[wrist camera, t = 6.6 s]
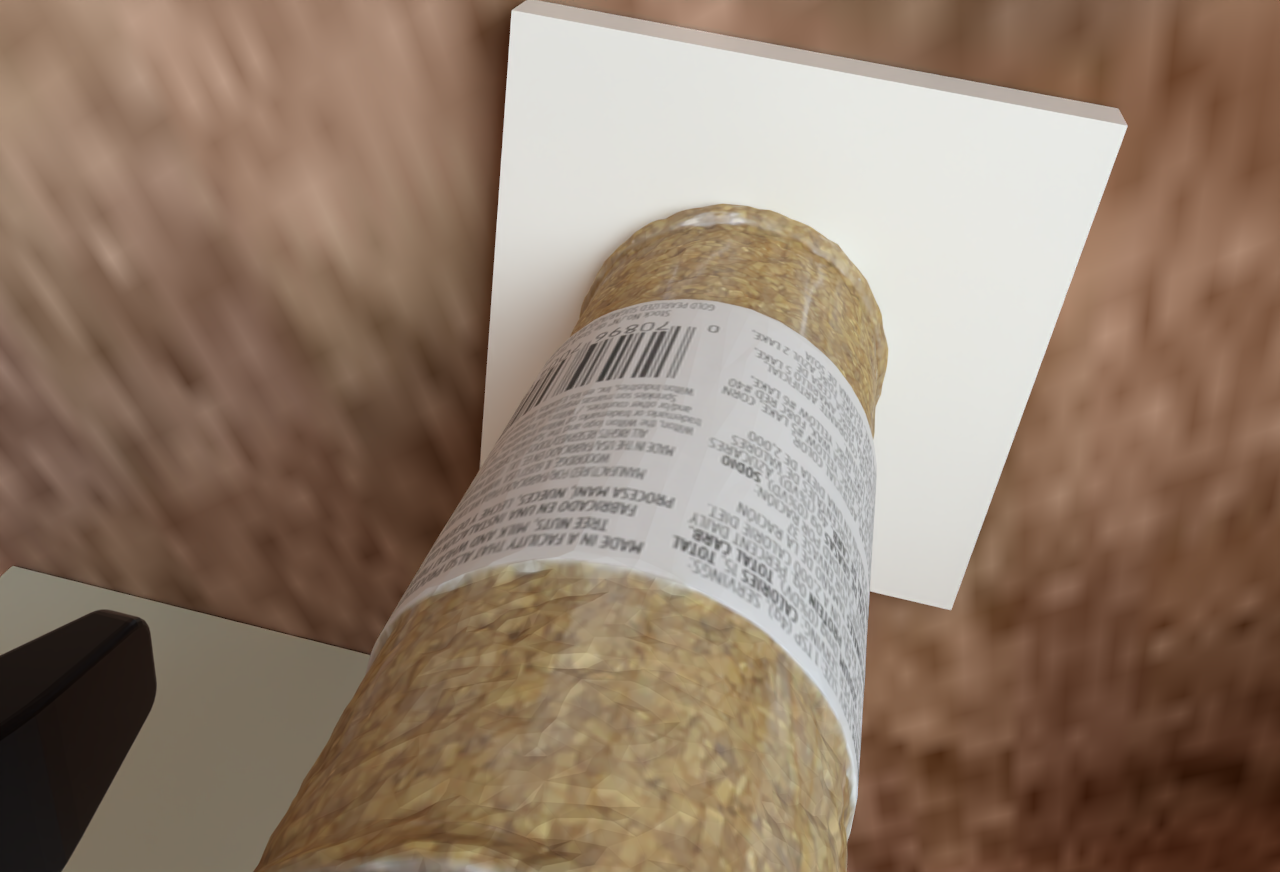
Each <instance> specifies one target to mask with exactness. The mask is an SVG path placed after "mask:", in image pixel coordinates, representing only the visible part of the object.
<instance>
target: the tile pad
mask: <svg viewBox="0 0 1280 872" xmlns="http://www.w3.org/2000/svg"><path fill="white" fill-rule="evenodd" d="M1127 126H1128V125H1127V124H1126V122H1125V120H1124V118H1123V116H1122V114H1121V113H1120V111H1119V109H1118V108H1113V107H1107V106H1102V105H1097V104H1091V103H1086V102H1080V101H1075V100H1070V99H1064V98H1059V97H1054V96H1048V95H1043V94H1038V93H1032V92H1027V91H1021V90H1016V89H1011V88H1005V87H1000V86H995V85H989V84H984V83H978V82H973V81H968V80H962V79H957V78H952V77H946V76H941V75H935V74H930V73H925V72H919V71H914V70H909V69H903V68H898V67H893V66H887V65H882V64H876V63H871V62H866V61H860V60H855V59H850V58H844V57H839V56H833V55H828V54H823V53H817V52H812V51H807V50H801V49H796V48H791V47H785V46H780V45H774V44H769V43H764V42H758V41H753V40H748V39H742V38H737V37H731V36H726V35H721V34H715V33H710V32H705V31H699V30H694V29H688V28H683V27H678V26H672V25H667V24H662V23H656V22H651V21H646V20H640V19H635V18H629V17H624V16H619V15H613V14H608V13H603V12H597V11H592V10H586V9H581V8H576V7H570V6H565V5H560V4H554V3H549V2H543V1H538V0H526V1H525V2H523V3H522V4H520V5H519V6H517V7H516V8H514V9H513V10H512V12H511V26H510V41H509V55H508V69H507V84H506V98H505V112H504V127H503V141H502V155H501V170H500V184H499V198H498V213H497V227H496V241H495V256H494V270H493V284H492V299H491V313H490V327H489V342H488V356H487V371H486V385H485V399H484V414H483V428H482V442H481V457H480V468H481V467H482V465H483V464H484V462H485V460H486V459H487V457H488V455H489V454H490V452H491V451H492V449H493V447H494V446H495V444H496V442H497V441H498V439H499V438H500V436H501V434H502V433H503V431H504V429H505V428H506V426H507V425H508V423H509V421H510V420H511V418H512V416H513V415H514V413H515V412H516V410H517V408H518V407H519V405H520V403H521V401H522V400H523V398H524V396H525V395H526V393H527V392H528V390H529V389H530V387H531V385H532V384H533V382H534V381H535V379H536V378H537V376H538V374H539V373H540V371H541V370H542V368H543V367H544V365H545V364H546V362H547V361H548V359H549V358H550V357H551V356H552V355H553V354H554V353H555V352H556V351H557V349H558V348H559V347H560V346H561V345H562V344H563V343H565V342H566V341H567V340H568V339H569V338H570V335H571V333H572V331H573V329H574V327H575V325H576V324H577V322H578V320H579V316H580V311H581V306H582V303H583V301H584V298H585V296H586V295H587V294H588V292H589V290H590V288H591V285H592V284H593V282H594V280H595V278H596V275H597V273H598V272H599V270H600V268H601V267H602V265H603V263H604V262H605V261H606V260H607V259H608V258H609V257H610V256H611V255H612V254H613V252H614V251H615V250H616V249H617V248H618V247H619V246H620V245H622V244H623V243H624V242H625V241H627V240H628V239H629V238H630V237H631V236H632V235H633V234H634V233H635V232H636V231H638V230H640V229H641V228H643V227H644V226H646V225H648V224H649V223H651V222H654V221H656V220H661V219H666V218H668V217H670V216H672V215H673V214H675V213H678V212H680V211H683V210H688V209H693V208H701V207H706V206H710V205H717V204H731V205H743V206H750V207H753V208H757V209H762V210H771V211H774V212H777V213H780V214H782V215H784V216H786V217H788V218H790V219H793V220H796V221H799V222H801V223H803V224H806V225H808V226H810V227H812V228H813V229H815V230H816V231H818V232H819V233H821V234H822V235H823V236H825V237H826V238H827V239H829V240H831V241H833V242H835V243H837V244H838V245H839V246H840V248H841V249H842V250H843V252H844V253H845V254H846V255H847V257H848V258H849V259H850V260H851V261H852V262H853V264H854V265H855V266H856V267H857V268H858V269H859V271H860V272H861V273H862V275H863V276H864V277H865V278H866V280H867V282H868V284H869V286H870V289H871V291H872V293H873V295H874V298H875V300H876V302H877V304H878V306H879V309H880V311H881V314H882V321H883V329H884V333H885V337H886V340H887V345H888V362H887V368H886V373H885V377H884V381H883V385H882V391H881V396H880V398H879V400H878V402H877V405H876V409H875V433H874V439H873V442H874V448H875V455H876V464H877V478H876V497H875V513H874V528H873V546H872V563H871V580H870V591H871V592H875V593H879V594H883V595H888V596H892V597H896V598H901V599H905V600H909V601H913V602H918V603H922V604H926V605H931V606H935V607H939V608H944V609H948V610H951V609H952V606H953V604H954V601H955V598H956V595H957V593H958V590H959V587H960V584H961V582H962V579H963V576H964V573H965V571H966V568H967V565H968V563H969V560H970V557H971V554H972V552H973V549H974V546H975V543H976V541H977V538H978V535H979V532H980V530H981V527H982V524H983V521H984V519H985V516H986V513H987V510H988V508H989V505H990V502H991V499H992V497H993V494H994V491H995V488H996V486H997V483H998V480H999V477H1000V475H1001V472H1002V469H1003V466H1004V464H1005V461H1006V458H1007V455H1008V453H1009V450H1010V447H1011V444H1012V442H1013V439H1014V436H1015V434H1016V431H1017V428H1018V425H1019V423H1020V420H1021V417H1022V414H1023V412H1024V409H1025V406H1026V403H1027V401H1028V398H1029V395H1030V392H1031V390H1032V387H1033V384H1034V381H1035V379H1036V376H1037V373H1038V370H1039V368H1040V365H1041V362H1042V359H1043V357H1044V354H1045V351H1046V348H1047V346H1048V343H1049V340H1050V337H1051V335H1052V332H1053V329H1054V326H1055V324H1056V321H1057V318H1058V316H1059V313H1060V310H1061V307H1062V305H1063V302H1064V299H1065V296H1066V294H1067V291H1068V288H1069V285H1070V283H1071V280H1072V277H1073V274H1074V272H1075V269H1076V266H1077V263H1078V261H1079V258H1080V255H1081V252H1082V250H1083V247H1084V244H1085V241H1086V239H1087V236H1088V233H1089V230H1090V228H1091V225H1092V222H1093V219H1094V217H1095V214H1096V211H1097V208H1098V206H1099V203H1100V200H1101V198H1102V195H1103V192H1104V189H1105V187H1106V184H1107V181H1108V178H1109V176H1110V173H1111V170H1112V167H1113V165H1114V162H1115V159H1116V156H1117V154H1118V151H1119V148H1120V145H1121V143H1122V140H1123V137H1124V134H1125V132H1126V129H1127Z"/></svg>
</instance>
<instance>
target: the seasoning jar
mask: <svg viewBox="0 0 1280 872" xmlns="http://www.w3.org/2000/svg"><path fill="white" fill-rule="evenodd" d="M887 362H888V345H887V340H886V337H885V333H884V329H883V321H882V314H881V311H880V309H879V306H878V304H877V302H876V300H875V298H874V295H873V293H872V291H871V289H870V286H869V284H868V282H867V280H866V278H865V277H864V276H863V275H862V273H861V272H860V271H859V269H858V268H857V267H856V266H855V265H854V264H853V262H852V261H851V260H850V259H849V258H848V257H847V255H846V254H845V253H844V252H843V250H842V249H841V248H840V246H839V245H838V244H837V243H835V242H833V241H831V240H829V239H827V238H826V237H825V236H823V235H822V234H821V233H819V232H818V231H816V230H815V229H813V228H812V227H810V226H808V225H806V224H803V223H801V222H799V221H796V220H793V219H790V218H788V217H786V216H784V215H782V214H780V213H777V212H774V211H771V210H762V209H757V208H753V207H750V206H743V205H731V204H717V205H710V206H706V207H701V208H693V209H688V210H683V211H680V212H678V213H675V214H673V215H672V216H670V217H668V218H666V219H661V220H656V221H654V222H651V223H649V224H648V225H646V226H644V227H643V228H641V229H640V230H638V231H636V232H635V233H634V234H633V235H632V236H631V237H630V238H629V239H628V240H627V241H625V242H624V243H623V244H622V245H620V246H619V247H618V248H617V249H616V250H615V251H614V252H613V254H612V255H611V256H610V257H609V258H608V259H607V260H606V261H605V262H604V263H603V265H602V267H601V268H600V270H599V272H598V273H597V275H596V278H595V280H594V282H593V284H592V285H591V288H590V290H589V292H588V294H587V295H586V296H585V298H584V301H583V303H582V306H581V311H580V316H579V320H578V322H577V324H576V325H575V327H574V329H573V331H572V333H571V335H570V338H569V339H568V340H567V341H566V342H565V343H563V344H562V345H561V346H560V347H559V348H558V349H557V351H556V352H555V353H554V354H553V355H552V356H551V357H550V358H549V359H548V361H547V362H546V364H545V365H544V367H543V368H542V370H541V371H540V373H539V374H538V376H537V378H536V379H535V381H534V382H533V384H532V385H531V387H530V389H529V390H528V392H527V393H526V395H525V396H524V398H523V400H522V401H521V403H520V405H519V407H518V408H517V410H516V412H515V413H514V415H513V416H512V418H511V420H510V421H509V423H508V425H507V426H506V428H505V429H504V431H503V433H502V434H501V436H500V438H499V439H498V441H497V442H496V444H495V446H494V447H493V449H492V451H491V452H490V454H489V455H488V457H487V459H486V460H485V462H484V464H483V465H482V467H481V468H480V470H479V472H478V473H477V475H476V477H475V478H474V480H473V482H472V483H471V485H470V486H469V488H468V490H467V491H466V493H465V495H464V496H463V498H462V499H461V501H460V503H459V504H458V506H457V507H456V509H455V511H454V512H453V514H452V516H451V517H450V519H449V520H448V522H447V524H446V525H445V527H444V529H443V530H442V532H441V533H440V535H439V537H438V538H437V540H436V541H435V543H434V545H433V546H432V548H431V550H430V551H429V553H428V555H427V556H426V558H425V560H424V561H423V563H422V565H421V566H420V568H419V570H418V571H417V573H416V575H415V576H414V578H413V580H412V581H411V583H410V585H409V586H408V588H407V590H406V591H405V593H404V595H403V596H402V598H401V600H400V601H399V603H398V605H397V606H396V608H395V610H394V611H393V613H392V615H391V616H390V618H389V620H388V622H387V623H386V625H385V627H384V628H383V630H382V632H381V634H380V635H379V637H378V639H377V641H376V643H375V645H374V647H373V649H372V652H371V655H370V658H369V662H368V666H367V670H366V673H365V677H364V679H363V680H362V682H361V684H360V685H359V687H358V689H357V691H356V693H355V695H354V696H353V698H352V700H351V701H350V702H349V704H348V705H347V707H346V708H345V709H344V711H343V713H342V715H341V717H340V719H339V721H338V722H337V724H336V726H335V728H334V730H333V732H332V734H331V737H330V739H329V741H328V742H327V744H326V746H325V747H324V749H323V750H322V752H321V754H320V755H319V757H318V758H317V760H316V762H315V763H314V765H313V766H312V768H311V769H310V771H309V772H308V774H307V775H306V777H305V778H304V780H303V782H302V784H301V787H300V789H299V791H298V793H297V795H296V797H295V798H294V799H293V801H292V803H291V805H290V807H289V809H288V811H287V813H286V814H285V816H284V817H283V819H282V820H281V821H280V823H279V824H278V826H277V827H276V829H275V830H274V832H273V833H272V835H271V836H270V839H269V841H268V843H267V846H266V848H265V850H264V853H263V855H262V857H261V860H260V862H259V864H258V866H257V867H256V868H255V870H254V871H253V872H847V841H848V838H849V835H850V832H851V827H852V822H853V817H854V812H855V807H856V802H857V796H858V780H859V765H860V749H861V731H862V712H863V698H864V684H865V666H866V643H867V627H868V612H869V596H870V580H871V563H872V546H873V528H874V513H875V497H876V478H877V464H876V455H875V448H874V442H873V439H874V433H875V409H876V405H877V402H878V400H879V398H880V396H881V391H882V385H883V381H884V377H885V373H886V368H887Z"/></svg>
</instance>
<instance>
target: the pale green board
mask: <svg viewBox="0 0 1280 872" xmlns="http://www.w3.org/2000/svg"><path fill="white" fill-rule="evenodd" d="M101 609H108V610H113V611H117V612H121V613H124V614H128V615H132V616H136V617H140V618H141V619H144V620H145V621H146V623H147V624H148V626H149V628H150V633H151V640H152V648H153V656H154V664H155V672H156V680H157V691H156V697H155V701H154V704H153V707H152V709H151V711H150V713H149V715H148V717H147V719H146V721H145V723H144V724H143V726H142V728H141V730H140V732H139V734H138V736H137V737H136V739H135V741H134V743H133V745H132V747H131V748H130V750H129V752H128V754H127V756H126V758H125V759H124V761H123V763H122V765H121V767H120V769H119V770H118V772H117V774H116V776H115V778H114V780H113V781H112V783H111V785H110V787H109V789H108V791H107V793H106V794H105V796H104V798H103V800H102V802H101V804H100V805H99V807H98V809H97V811H96V813H95V815H94V816H93V818H92V820H91V822H90V824H89V826H88V827H87V829H86V831H85V833H84V835H83V837H82V838H81V840H80V842H79V844H78V845H77V847H76V849H75V851H74V852H73V854H72V856H71V857H70V859H69V861H68V863H67V864H66V866H65V867H64V869H63V870H62V872H253V871H254V870H255V868H256V867H257V866H258V864H259V862H260V860H261V857H262V855H263V853H264V850H265V848H266V846H267V843H268V841H269V839H270V836H271V835H272V833H273V832H274V830H275V829H276V827H277V826H278V824H279V823H280V821H281V820H282V819H283V817H284V816H285V814H286V813H287V811H288V809H289V807H290V805H291V803H292V801H293V799H294V798H295V797H296V795H297V793H298V791H299V789H300V787H301V784H302V782H303V780H304V778H305V777H306V775H307V774H308V772H309V771H310V769H311V768H312V766H313V765H314V763H315V762H316V760H317V758H318V757H319V755H320V754H321V752H322V750H323V749H324V747H325V746H326V744H327V742H328V741H329V739H330V737H331V734H332V732H333V730H334V728H335V726H336V724H337V722H338V721H339V719H340V717H341V715H342V713H343V711H344V709H345V708H346V707H347V705H348V704H349V702H350V701H351V700H352V698H353V696H354V695H355V693H356V691H357V689H358V687H359V685H360V684H361V682H362V680H363V679H364V677H365V673H366V670H367V666H368V662H369V658H370V655H368V654H364V653H360V652H356V651H352V650H348V649H344V648H340V647H336V646H332V645H328V644H324V643H320V642H316V641H312V640H308V639H304V638H300V637H296V636H292V635H288V634H284V633H280V632H276V631H272V630H268V629H264V628H260V627H256V626H252V625H248V624H244V623H240V622H236V621H232V620H228V619H224V618H220V617H216V616H212V615H208V614H204V613H200V612H196V611H192V610H188V609H184V608H180V607H176V606H172V605H168V604H164V603H160V602H156V601H152V600H148V599H144V598H140V597H136V596H132V595H128V594H124V593H120V592H116V591H112V590H107V589H103V588H99V587H95V586H91V585H87V584H83V583H79V582H75V581H71V580H67V579H63V578H59V577H55V576H51V575H47V574H43V573H39V572H35V571H31V570H27V569H23V568H19V567H15V566H12V567H11V568H9V569H8V570H7V571H6V572H5V573H4V574H3V575H2V576H1V577H0V655H2V654H4V653H6V652H8V651H10V650H12V649H14V648H17V647H19V646H21V645H23V644H25V643H27V642H29V641H31V640H33V639H36V638H38V637H40V636H42V635H44V634H46V633H48V632H50V631H52V630H55V629H57V628H59V627H61V626H63V625H65V624H67V623H69V622H72V621H74V620H76V619H78V618H80V617H82V616H84V615H86V614H88V613H91V612H93V611H96V610H101Z"/></svg>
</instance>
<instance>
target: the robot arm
mask: <svg viewBox="0 0 1280 872" xmlns="http://www.w3.org/2000/svg"><path fill="white" fill-rule="evenodd" d="M156 691H157V680H156V672H155V664H154V656H153V648H152V640H151V633H150V628H149V626H148V624H147V623H146V621H145V620H144V619H141V618H140V617H136V616H132V615H128V614H124V613H121V612H117V611H113V610H108V609H101V610H96V611H93V612H91V613H88V614H86V615H84V616H82V617H80V618H78V619H76V620H74V621H72V622H69V623H67V624H65V625H63V626H61V627H59V628H57V629H55V630H52V631H50V632H48V633H46V634H44V635H42V636H40V637H38V638H36V639H33V640H31V641H29V642H27V643H25V644H23V645H21V646H19V647H17V648H14V649H12V650H10V651H8V652H6V653H4V654H2V655H0V872H62V870H63V869H64V867H65V866H66V864H67V863H68V861H69V859H70V857H71V856H72V854H73V852H74V851H75V849H76V847H77V845H78V844H79V842H80V840H81V838H82V837H83V835H84V833H85V831H86V829H87V827H88V826H89V824H90V822H91V820H92V818H93V816H94V815H95V813H96V811H97V809H98V807H99V805H100V804H101V802H102V800H103V798H104V796H105V794H106V793H107V791H108V789H109V787H110V785H111V783H112V781H113V780H114V778H115V776H116V774H117V772H118V770H119V769H120V767H121V765H122V763H123V761H124V759H125V758H126V756H127V754H128V752H129V750H130V748H131V747H132V745H133V743H134V741H135V739H136V737H137V736H138V734H139V732H140V730H141V728H142V726H143V724H144V723H145V721H146V719H147V717H148V715H149V713H150V711H151V709H152V707H153V704H154V701H155V697H156Z"/></svg>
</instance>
